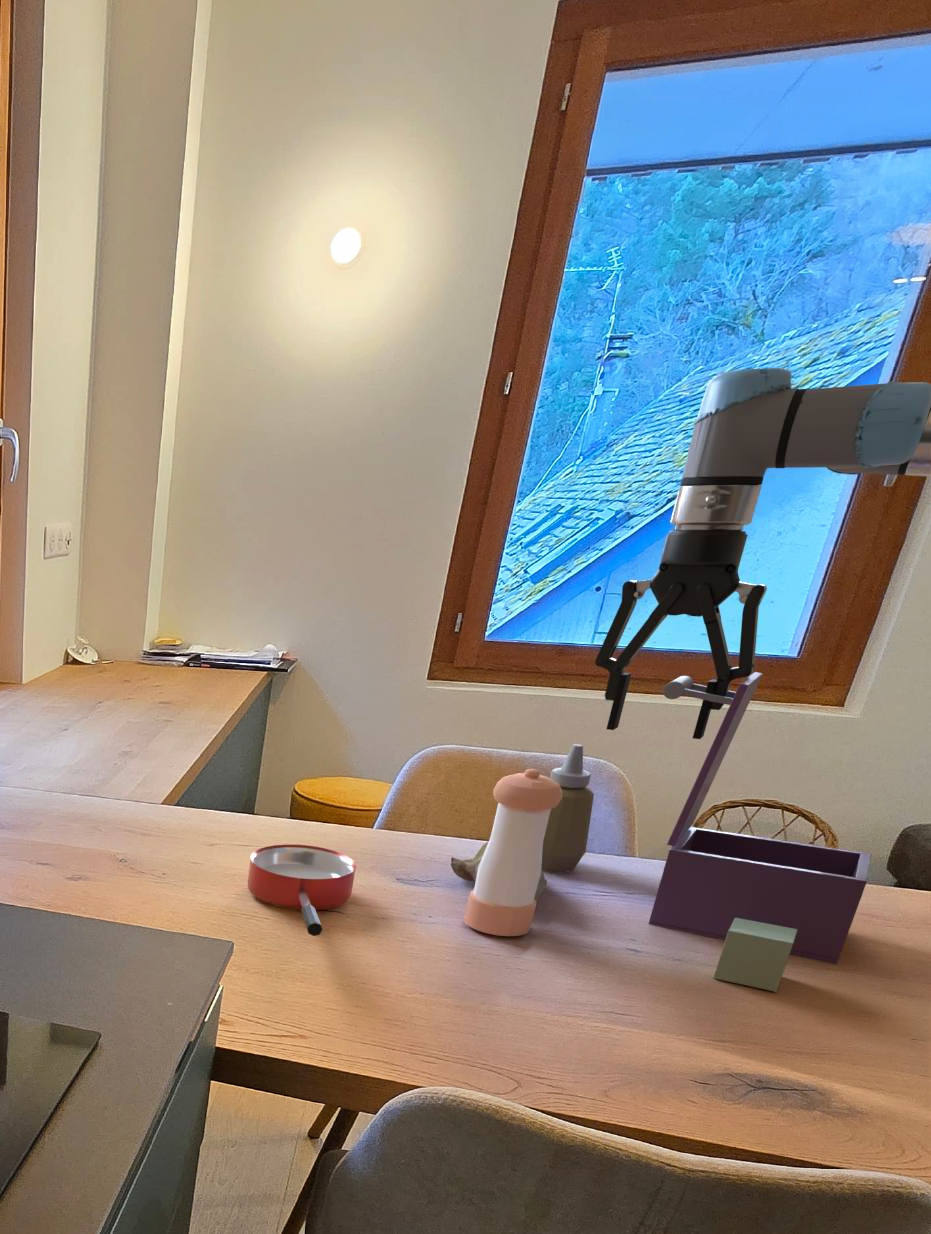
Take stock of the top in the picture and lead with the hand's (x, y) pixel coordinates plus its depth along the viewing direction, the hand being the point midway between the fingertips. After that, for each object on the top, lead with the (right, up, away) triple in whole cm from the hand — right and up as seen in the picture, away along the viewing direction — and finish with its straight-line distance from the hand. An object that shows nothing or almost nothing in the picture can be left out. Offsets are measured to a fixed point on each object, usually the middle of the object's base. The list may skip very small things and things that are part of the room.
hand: (654, 732), depth 126 cm
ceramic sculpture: (-13, -19, +11) cm, 26 cm away
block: (+1, -29, -13) cm, 32 cm away
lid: (+5, -4, -3) cm, 7 cm away
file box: (+11, -24, 0) cm, 26 cm away
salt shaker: (-18, -23, +1) cm, 30 cm away
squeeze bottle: (-1, -15, +21) cm, 26 cm away
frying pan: (-41, -23, +3) cm, 47 cm away
